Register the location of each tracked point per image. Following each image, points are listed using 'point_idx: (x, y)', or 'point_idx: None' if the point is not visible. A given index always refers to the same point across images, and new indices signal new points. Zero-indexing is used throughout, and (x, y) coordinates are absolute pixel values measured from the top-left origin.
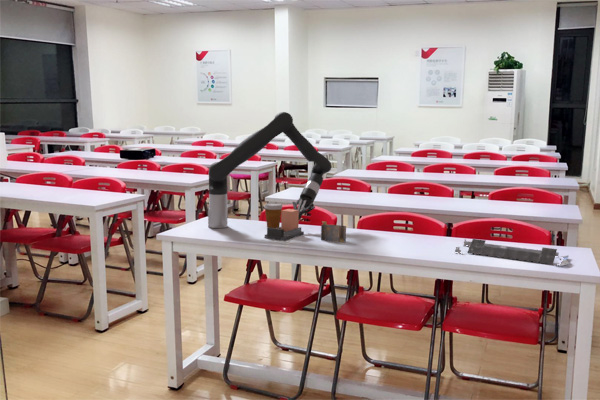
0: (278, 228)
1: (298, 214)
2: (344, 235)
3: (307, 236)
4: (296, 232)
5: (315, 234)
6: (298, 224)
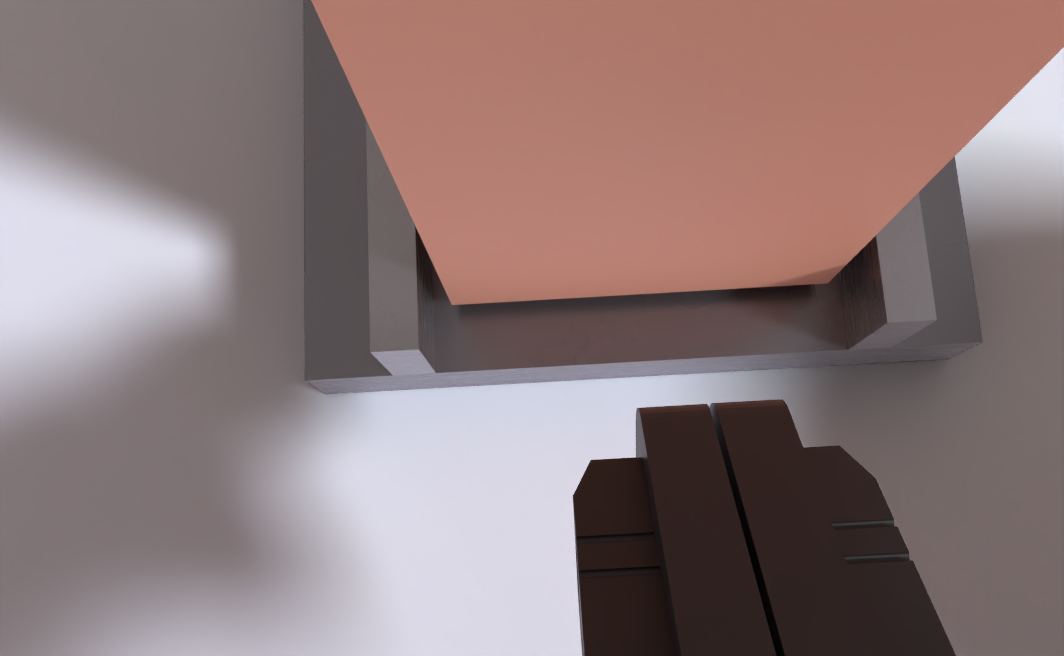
0: None
1: (350, 73)
2: None
3: (127, 271)
4: None
5: (72, 623)
6: (427, 251)
